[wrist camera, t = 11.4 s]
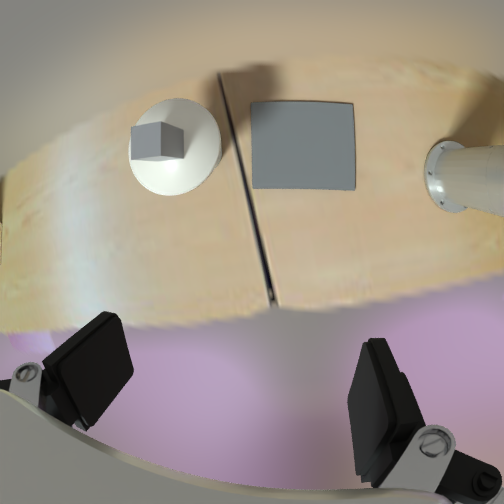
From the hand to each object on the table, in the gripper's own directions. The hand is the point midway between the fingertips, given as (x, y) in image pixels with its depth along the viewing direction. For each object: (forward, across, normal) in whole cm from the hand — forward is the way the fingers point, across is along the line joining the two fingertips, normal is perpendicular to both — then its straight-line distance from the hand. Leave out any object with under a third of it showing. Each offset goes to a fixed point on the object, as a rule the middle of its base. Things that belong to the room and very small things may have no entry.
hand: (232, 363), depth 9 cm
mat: (+35, -3, -12) cm, 37 cm away
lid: (+23, +13, -10) cm, 28 cm away
